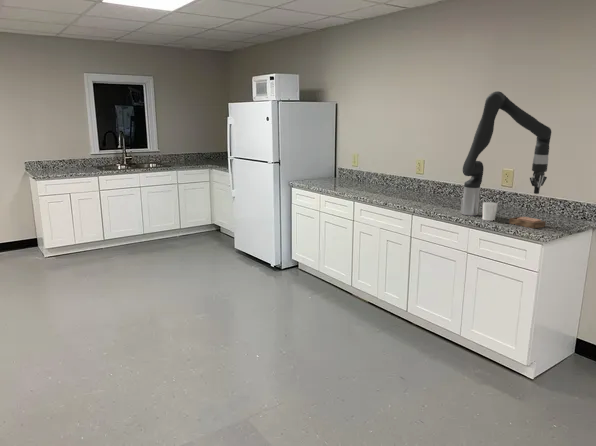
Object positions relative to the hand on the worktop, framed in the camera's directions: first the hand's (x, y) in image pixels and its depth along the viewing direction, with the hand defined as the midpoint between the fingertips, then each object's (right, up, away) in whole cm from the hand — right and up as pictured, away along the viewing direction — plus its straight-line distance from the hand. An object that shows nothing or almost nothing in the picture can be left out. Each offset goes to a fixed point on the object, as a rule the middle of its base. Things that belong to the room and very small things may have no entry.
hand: (536, 193), depth 260 cm
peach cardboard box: (-4, -18, 0) cm, 18 cm away
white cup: (-21, -15, +14) cm, 29 cm away
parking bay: (-5, -18, 0) cm, 18 cm away
